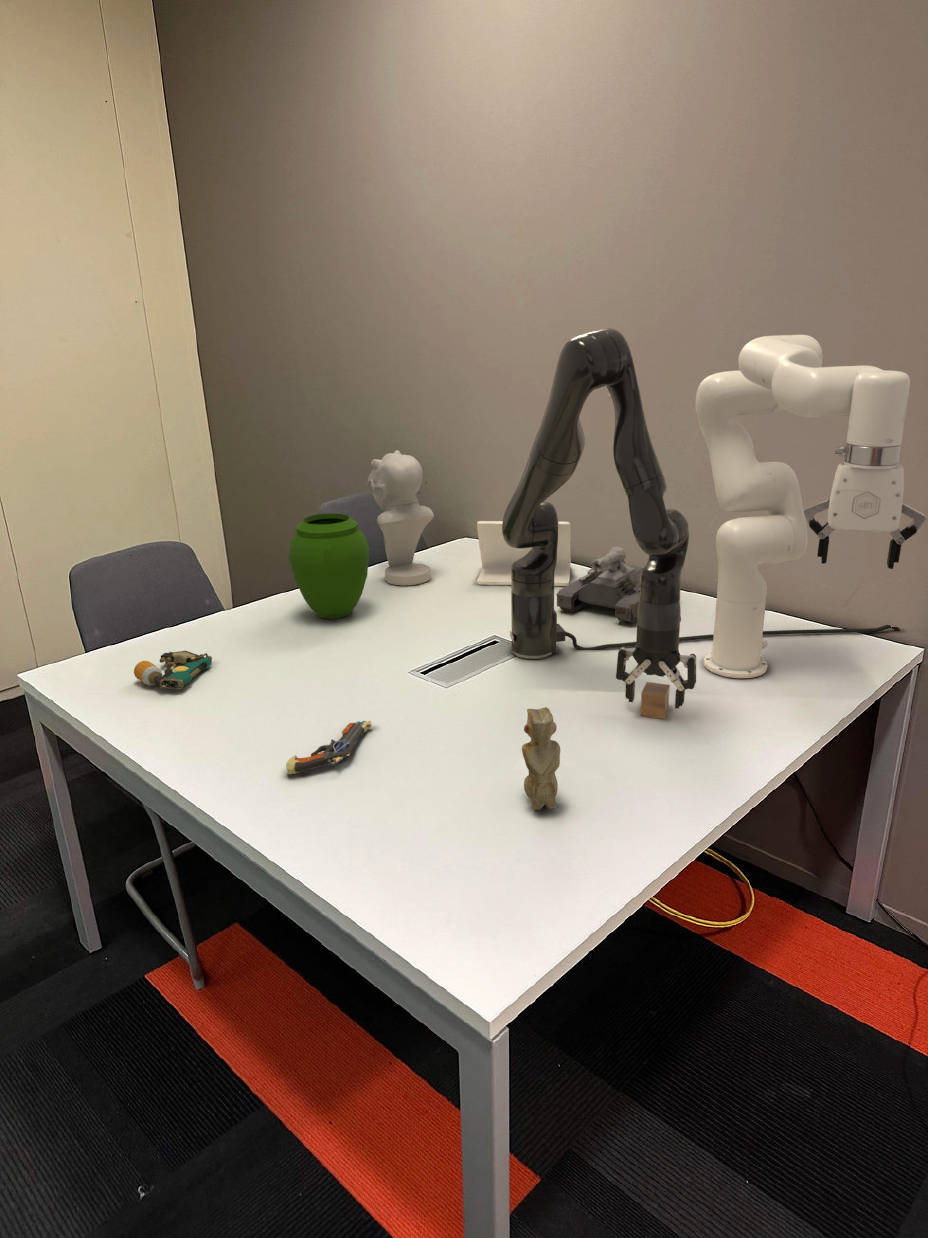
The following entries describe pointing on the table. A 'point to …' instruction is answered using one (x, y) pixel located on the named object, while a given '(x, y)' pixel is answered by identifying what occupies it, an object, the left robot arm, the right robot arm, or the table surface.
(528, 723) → the sculpture
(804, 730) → the table surface
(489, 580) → the tablet stand
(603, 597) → the toy
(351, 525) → the vase
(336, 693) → the table surface
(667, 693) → the brown wooden block
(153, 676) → the spray gun
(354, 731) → the toy gun
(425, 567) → the bust sculpture
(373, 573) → the table surface
